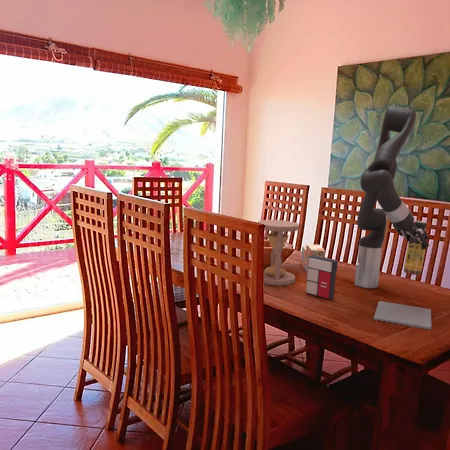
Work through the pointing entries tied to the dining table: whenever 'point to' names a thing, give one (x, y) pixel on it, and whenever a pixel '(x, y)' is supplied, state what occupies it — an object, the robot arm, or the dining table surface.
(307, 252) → the cardboard box
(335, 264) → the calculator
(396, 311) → the slate mat
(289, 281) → the hourglass
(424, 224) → the sauce bottle
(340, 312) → the dining table surface
